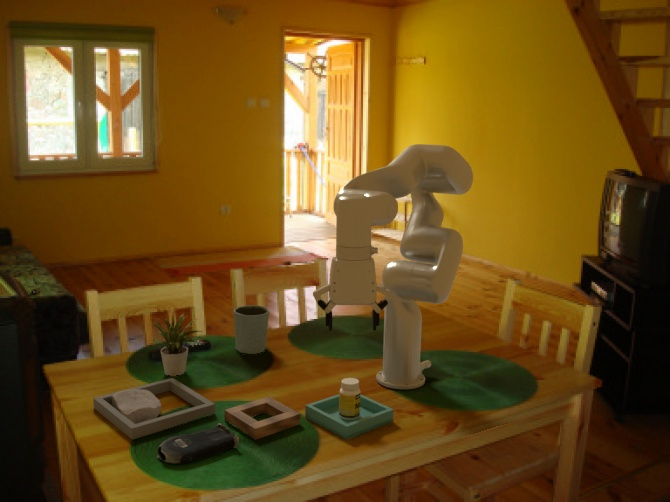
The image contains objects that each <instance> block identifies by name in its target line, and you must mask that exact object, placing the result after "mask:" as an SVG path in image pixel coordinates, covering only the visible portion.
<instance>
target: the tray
mask: <svg viewBox="0 0 670 502" xmlns="http://www.w3.org/2000/svg"><path fill="white" fill-rule="evenodd" d="M304 408H305V410H304V411H305V416H304V418H306V419H307V420H309V421H311V422H313V423H315V425H316V424H317V426H320V427H322V428H324V429H325V430H327V431H329V432H331V433H333V434H334V435H336V436H339V437H340V438H342V439H344V440H346V441H348V440H350V439H353V438H356V437H358V436H361V435H363V434H366V433H367V432H368V433H369V432H371V431H374V430H376V429H379V428H381V427H384V426H386V425H389V424H391V423H393V422H394V409H393V408H391V407H389V406H387V405H385V404H382V403H380V402H378V401H376V400H374V399H372V398H370V397H367V396H366V395H363V394H361V393H360V416H359V418H358V419H355V420H344V419H342V418H340V416H339V393H338V394H336V395H333V396H332V395H331V396H330V397H326V398H324V399H320V400H317V401H314V402H310V403H308V404H305V406H304Z"/></svg>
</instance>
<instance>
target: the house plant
mask: <svg viewBox="0 0 670 502" xmlns="http://www.w3.org/2000/svg"><path fill="white" fill-rule="evenodd" d="M184 315H185V312H184V313H182V314H180V316H179V317H178V318H177V321H176V323H175V311H173V312H172V315H171V323H170V320H168V319H167V317H165V316H163V317H164V320H162V319H160V318H159V320H160V321H162V322H163V323H164V324H165V327H166V329H167V330H165V329H164V327H163V326H162V325H161V324H160V323H159V322H158V321H156V320H154V321H151V325H153V326H155V327H156V328H157V329H158V330H159V331H158V332H157V333H158V334H159V335H160V336H161V337H163V339H165V341H166V342H163V341H162V339H161V340H160V339H158V338H154V339H153V340H152V341H151V344H153V345H152V347H153V346H155V345H157V344H164V347H163V348H161V349H160V355H161V360H162V364H163V370H164V375H166V376H168V375H170V376H169V377H177V376H176V375H180V376H182V375H181V374H183V373H184V372H185V373H186V368H187V360H188V354H189V348H188V347H187V346H184V344H185V343H195V344H197V343H196V341H195V340H197V341H200V339H199V338H198V337H197V336H194V335H193V336H190V335H191V334H195V333H202V332H204V331H202V330H190V329H192V328H191V327H194V326H196V325H194V324H192V323H193V322H194V321H195V322H196V321H197V320H198V318H195V319H192V320H191V321H190V322H189V323H187V324H186V326H184V327H183V328H181V327H182V325H183V322H184V319H185V318H186V317H187V316H188V313H187V314H186V315H185V316H184ZM156 319H157V320H158V318H156ZM164 321H165V322H164ZM145 325H150V323H148V322H147V323H145ZM194 339H195V340H194ZM185 373H184V374H185ZM184 374H183V375H184Z"/></svg>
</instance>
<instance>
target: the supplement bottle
mask: <svg viewBox="0 0 670 502" xmlns="http://www.w3.org/2000/svg"><path fill="white" fill-rule="evenodd" d="M340 387H341V388H340V389H339V393H338V394H339V416H340V418H342V419H344V420H355V419H358V418H359V416H360V394H361V389H360V380H359V379H357V378H355V377H348V378H347V377H345V378H343V379H341V383H340Z"/></svg>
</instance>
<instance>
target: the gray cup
mask: <svg viewBox="0 0 670 502" xmlns="http://www.w3.org/2000/svg"><path fill="white" fill-rule="evenodd" d="M233 317H234V324H233V325H234V332H235V333H234V334H235V335H234V336H235V340H234V341H235V343H234V344H235V350H236V349H237V350H238V351H240V352H243V353H248V354H249V353H250V354H255V353H260V352H263V351H264V350H265V349H267V340H268V339H267V338H268V337H267V335H268V326H269V317H270V309H269V308H267V307H265V306H263V305H256V304H255V305H254V304H253V305H252V304H251V305H250V304H249V305H240V306H238V307H235V308H234V309H233ZM265 351H266V350H265ZM265 351H264V352H265ZM264 352H263V353H264ZM260 354H261V353H260ZM255 355H256V354H255Z"/></svg>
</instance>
